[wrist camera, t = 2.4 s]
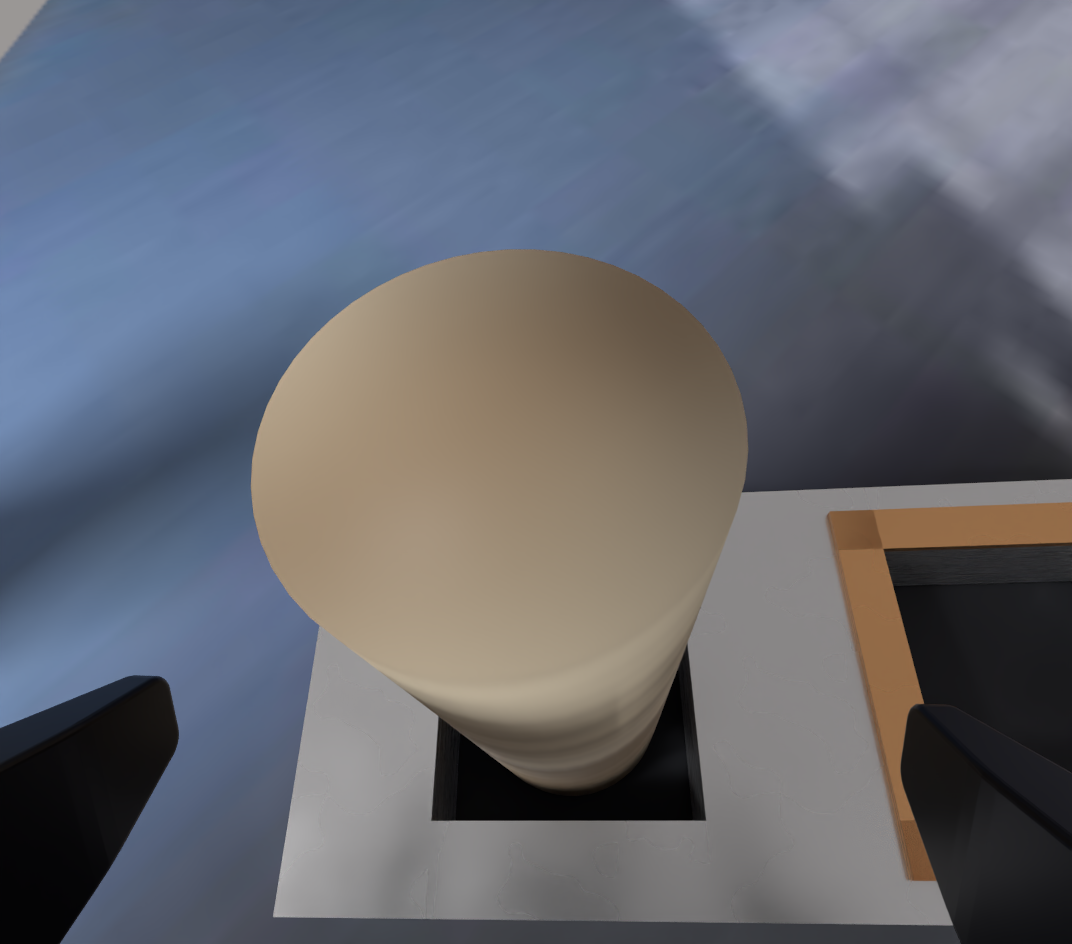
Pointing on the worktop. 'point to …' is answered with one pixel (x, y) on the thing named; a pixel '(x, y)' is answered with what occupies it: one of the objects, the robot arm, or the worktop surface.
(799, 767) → the white peg board
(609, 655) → the maple peg
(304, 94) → the worktop surface
